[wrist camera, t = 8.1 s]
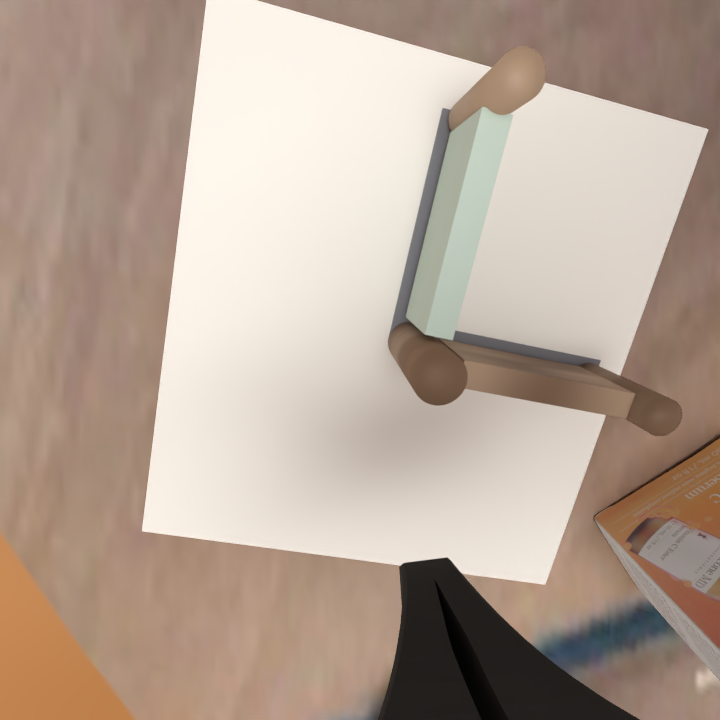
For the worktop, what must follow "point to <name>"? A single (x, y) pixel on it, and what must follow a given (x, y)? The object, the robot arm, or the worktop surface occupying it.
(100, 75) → the worktop surface
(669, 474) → the small box
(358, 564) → the worktop surface
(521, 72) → the panel
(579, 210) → the card
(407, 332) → the fixed fence
